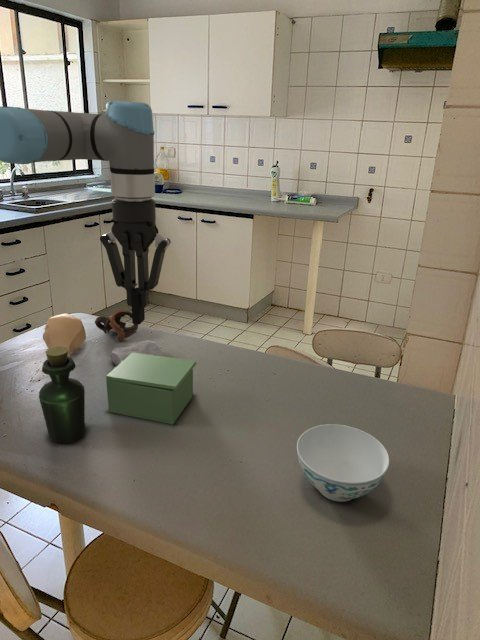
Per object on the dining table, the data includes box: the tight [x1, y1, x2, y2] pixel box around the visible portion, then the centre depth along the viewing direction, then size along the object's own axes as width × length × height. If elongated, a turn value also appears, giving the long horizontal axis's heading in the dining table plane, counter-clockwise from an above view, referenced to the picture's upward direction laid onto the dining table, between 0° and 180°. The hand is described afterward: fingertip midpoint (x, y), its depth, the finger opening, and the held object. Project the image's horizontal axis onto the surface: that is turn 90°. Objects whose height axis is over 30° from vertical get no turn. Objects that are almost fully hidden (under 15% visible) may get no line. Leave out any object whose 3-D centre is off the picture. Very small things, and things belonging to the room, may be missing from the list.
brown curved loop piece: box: [94, 309, 139, 342], centre depth 133 cm, size 12×10×8 cm
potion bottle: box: [38, 346, 86, 444], centre depth 87 cm, size 8×8×18 cm
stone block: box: [110, 339, 165, 367], centre depth 118 cm, size 12×5×10 cm
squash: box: [42, 313, 87, 360], centre depth 121 cm, size 11×20×9 cm, turn 15°
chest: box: [105, 368, 194, 425], centre depth 100 cm, size 15×12×8 cm
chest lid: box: [105, 353, 197, 390], centre depth 98 cm, size 15×12×1 cm
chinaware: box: [296, 423, 390, 503], centre depth 78 cm, size 15×15×8 cm
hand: (138, 321), depth 91 cm, fingers closed
